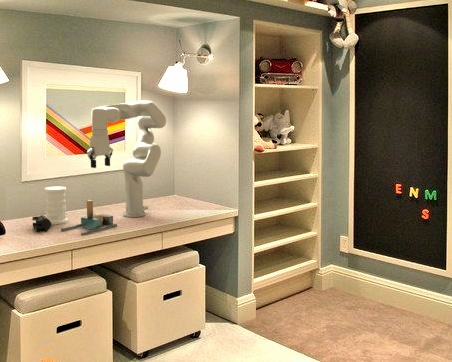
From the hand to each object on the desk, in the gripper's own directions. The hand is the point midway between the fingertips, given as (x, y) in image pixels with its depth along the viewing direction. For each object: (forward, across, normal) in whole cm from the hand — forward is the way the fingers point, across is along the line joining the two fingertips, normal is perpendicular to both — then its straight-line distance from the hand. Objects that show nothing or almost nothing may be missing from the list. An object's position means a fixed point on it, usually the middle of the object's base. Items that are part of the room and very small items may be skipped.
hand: (100, 166), depth 285 cm
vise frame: (+30, +9, 0) cm, 31 cm away
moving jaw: (+30, +8, 0) cm, 31 cm away
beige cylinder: (+30, +3, 0) cm, 31 cm away
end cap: (+31, +24, -17) cm, 42 cm away
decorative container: (+31, +8, -25) cm, 40 cm away
